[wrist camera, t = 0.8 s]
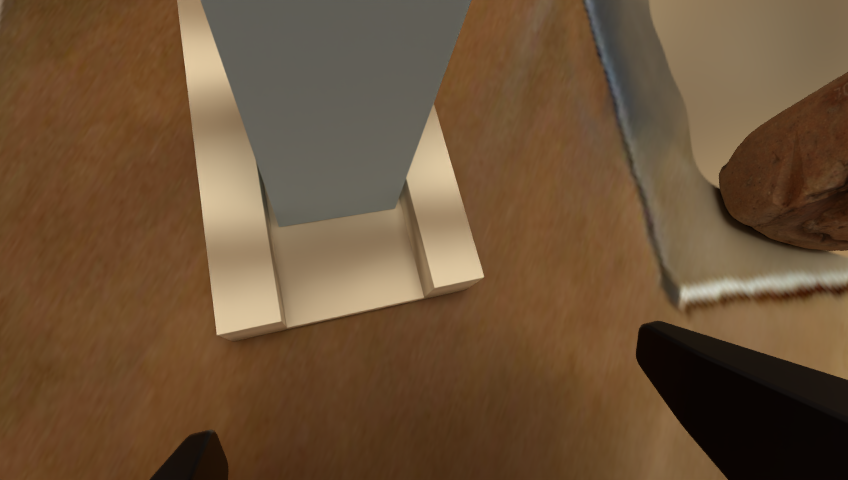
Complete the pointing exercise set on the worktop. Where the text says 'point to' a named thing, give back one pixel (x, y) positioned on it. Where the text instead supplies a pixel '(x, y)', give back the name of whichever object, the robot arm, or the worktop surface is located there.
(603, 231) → the worktop surface
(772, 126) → the sweet potato
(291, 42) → the grey rectangular block
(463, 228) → the chute
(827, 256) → the worktop surface
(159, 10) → the worktop surface
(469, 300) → the worktop surface
